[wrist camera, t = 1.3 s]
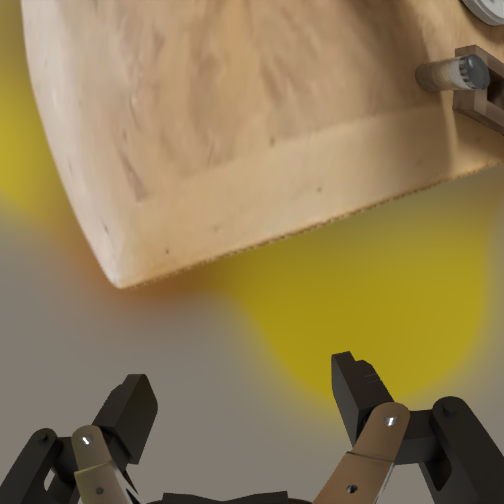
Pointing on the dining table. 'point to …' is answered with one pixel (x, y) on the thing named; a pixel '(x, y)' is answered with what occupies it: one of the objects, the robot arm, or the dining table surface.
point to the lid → (487, 10)
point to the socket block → (483, 93)
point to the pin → (454, 74)
